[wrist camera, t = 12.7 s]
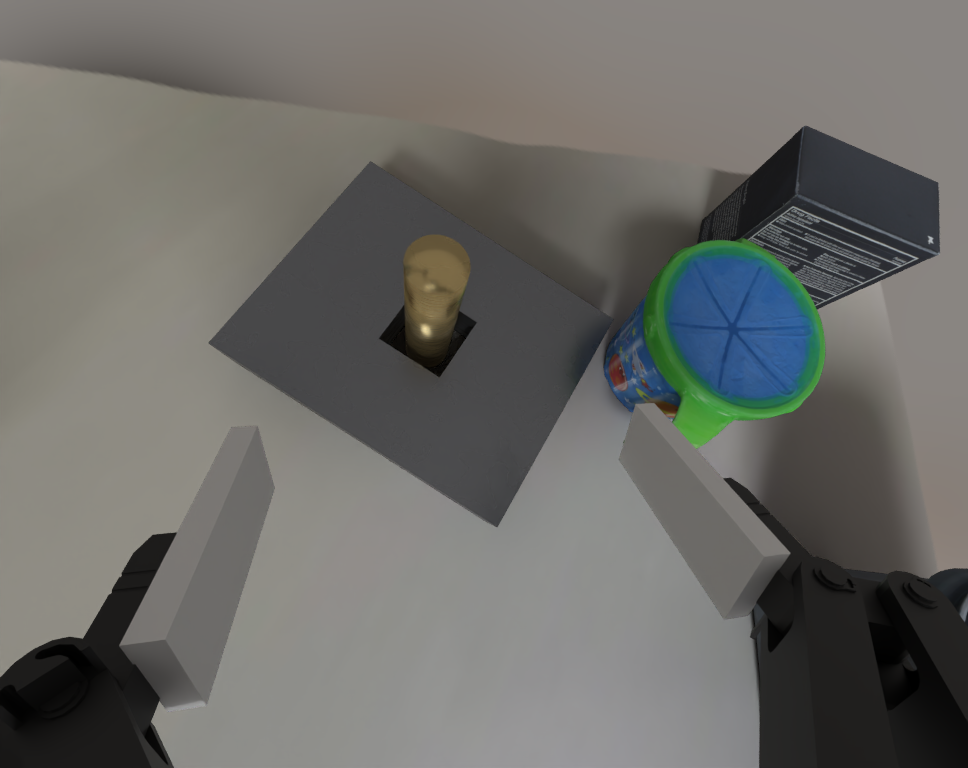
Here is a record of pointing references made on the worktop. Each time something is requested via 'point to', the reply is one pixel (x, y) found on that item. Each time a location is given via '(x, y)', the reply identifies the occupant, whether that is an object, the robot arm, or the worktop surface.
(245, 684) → the worktop surface
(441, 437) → the plate
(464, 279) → the brass pin
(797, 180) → the small box
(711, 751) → the worktop surface
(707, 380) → the snack cup
